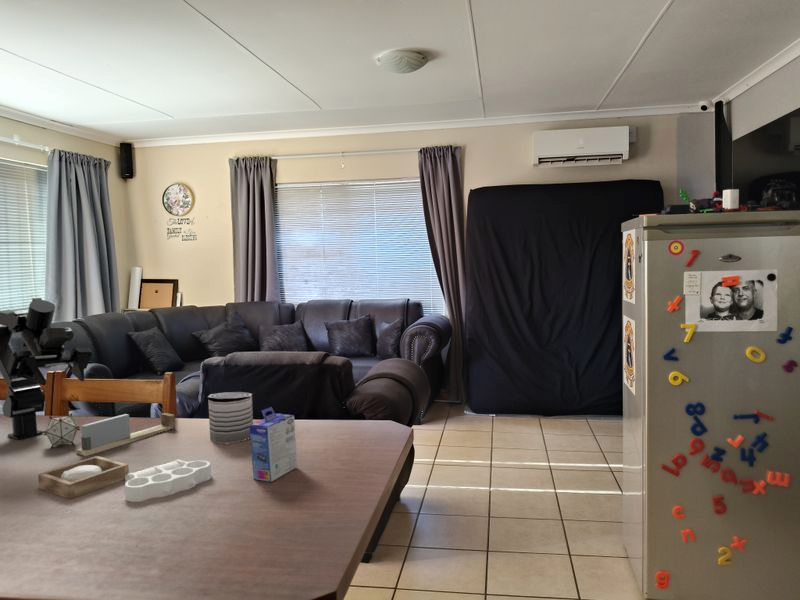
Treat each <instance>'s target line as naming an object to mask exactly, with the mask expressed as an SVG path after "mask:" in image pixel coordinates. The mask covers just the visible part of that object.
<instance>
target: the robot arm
mask: <svg viewBox="0 0 800 600" xmlns="http://www.w3.org/2000/svg"><path fill="white" fill-rule="evenodd" d="M55 312H56V305H55V304H54V303H53V302H50V301H49V300H48V301H47V300H45V299H42V298H41V297H35V298H32V299H31V302H30V303H29V305H28V310H22V311H21V310H20V311H16V310H10V309H7V308H1V309H0V373H1V376H2V379H4V382H5V384H6V386H7V389H8V390H7V393H6V397H5V400H4V403H3V406H2V412H3V416H4V417H6V418H9V419H11V422H12V423H11V424H12V425H11V426H12V433H8V434H7V437H9V438H12V439H16V440H22V439H26V438H29V437H34V436H37V435H41V434H43V433H42V432H43V431H44V430H39V429H38V424H37V413H39V412H44V409H45V402H46V400H45V399H46V394H45V393H44V390H42V389H41V386H40V385H42V386H46V384H47V380H46V379H45V376H44V374H43V373H42V372H41V370H40V368H47V367H56V366H64V365H66V366H67V367H68V368H69V370H70V373H71V374H72V375H74V377H76V378H77V379H78V380H79V381H81V382H84V380H85V370H86V369H87V367H88V366H89V363H90V360H91V357H92V355H93V352H92V350H91V349H90V348H89V347H74V348H72V349H71V352H70V355H62V354H63V353H62V352H64V350H65V346H64V345H65V344H66V342H71V341H72V340H73V339H74V337H75V334H74V331H73V329H72V328H71V327H52V325H53V319H54V314H55ZM13 334H20V337H21V339H22V343H21V344H22V348H26V347H27V349H28V350H22V351H21V350H20V351H13V349H12V348H11V346H10V343H11V340H12V339H11V338H12V335H13Z"/></svg>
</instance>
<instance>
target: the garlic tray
mask: <svg viewBox="0 0 800 600" xmlns="http://www.w3.org/2000/svg"><path fill="white" fill-rule="evenodd" d="M83 465H95V466H99V467H100V468H101V469H102V472H100V473H97V474H94V475H91V476H88V477H85V478H82V479H79V480H76V481H73V482H69V481H66V480H63V479H60V478H61V475H62V474H63V473H64V471H68V470H71V469H73V468H75V467H78V466H83ZM129 468H130V467H129V464H128V463H125V462H122V461H121V462H120V461H117V460H114V459H110V458H107V457H103V456H99V455H95V456H92V457H91V456H90V457H89V458H86V459H82V460H79V461H76V462H73V463H70V464H65V465H64V466H60V467H57V468H53V469H50V470H48V471H44V472H41V473H39V474H37V478H38V479H37V481H38V488H39V489H41V490H44V491H47V492H49V493H52V494H54V493H55V495H58V496H60V497H63V498H66V499H69V500H72V499H74V498H77V497H80V496H82V495H86V494H88V493H91V492H93V491H96V490H99V489H102V488H105V487H107V486H110V485H113V484H117V483H119V482H121V481H123V480H125V476H126V475H127V474H128V473H130V471H129V470H130V469H129Z"/></svg>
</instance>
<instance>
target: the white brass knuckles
mask: <svg viewBox="0 0 800 600" xmlns="http://www.w3.org/2000/svg"><path fill="white" fill-rule="evenodd" d="M211 467H212V464H211V462H210V461H208V460H201V459H200V460H193V461H184V460H182V459H175V460H173V461H170V462H168V463H163V464H160V465H153V466H151V467H149V468H145V469H142V470H138V471H135V472H129V473H128V474H127V475H126V476H125V479H124V480H125V481H124V482H125V484H124V494H125V495H124V497H125V500H126V501H127V502H131V503H135V502H137V503H140V502H145V501H146V500H149V499H154V498H163V497H167V496H168V497H169V496H172V495H174V494H176V493H178V492H181V491H188V490H190V489H192V488H194V487H196V486H197V485H198V484H200V483H203V482H206V481H209V480H211V479H212V468H211ZM196 484H197V485H196ZM195 485H196V486H195Z"/></svg>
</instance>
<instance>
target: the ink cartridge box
mask: <svg viewBox="0 0 800 600" xmlns="http://www.w3.org/2000/svg"><path fill="white" fill-rule="evenodd" d="M260 412H261V413H262V415H263V419H261V420H259V421H256V422H253V424H252V425H250V439H249V440H250V449H251V452H250V453H251V461H252V462H251V464H252V465H251V466H252V475H253V476H252V477H253V480H259V481H263V482H266V483H267V482H269V483H271V482H273V481H275V480H277V479H279V478H280V477H283V475H286V474H287V473H289V472H291V471H292V470H294V469H297V468H298V460H297V459H298V457H297V443H296V441H297V440H296V428H295V427H296V425H295V415H294V414H288V413H287V414H284V413H276V412H275V410H274V409H273V407H272V406H270V407H267V408H265V409H261V411H260ZM268 412H271V414H268V415H267V413H268Z"/></svg>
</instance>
